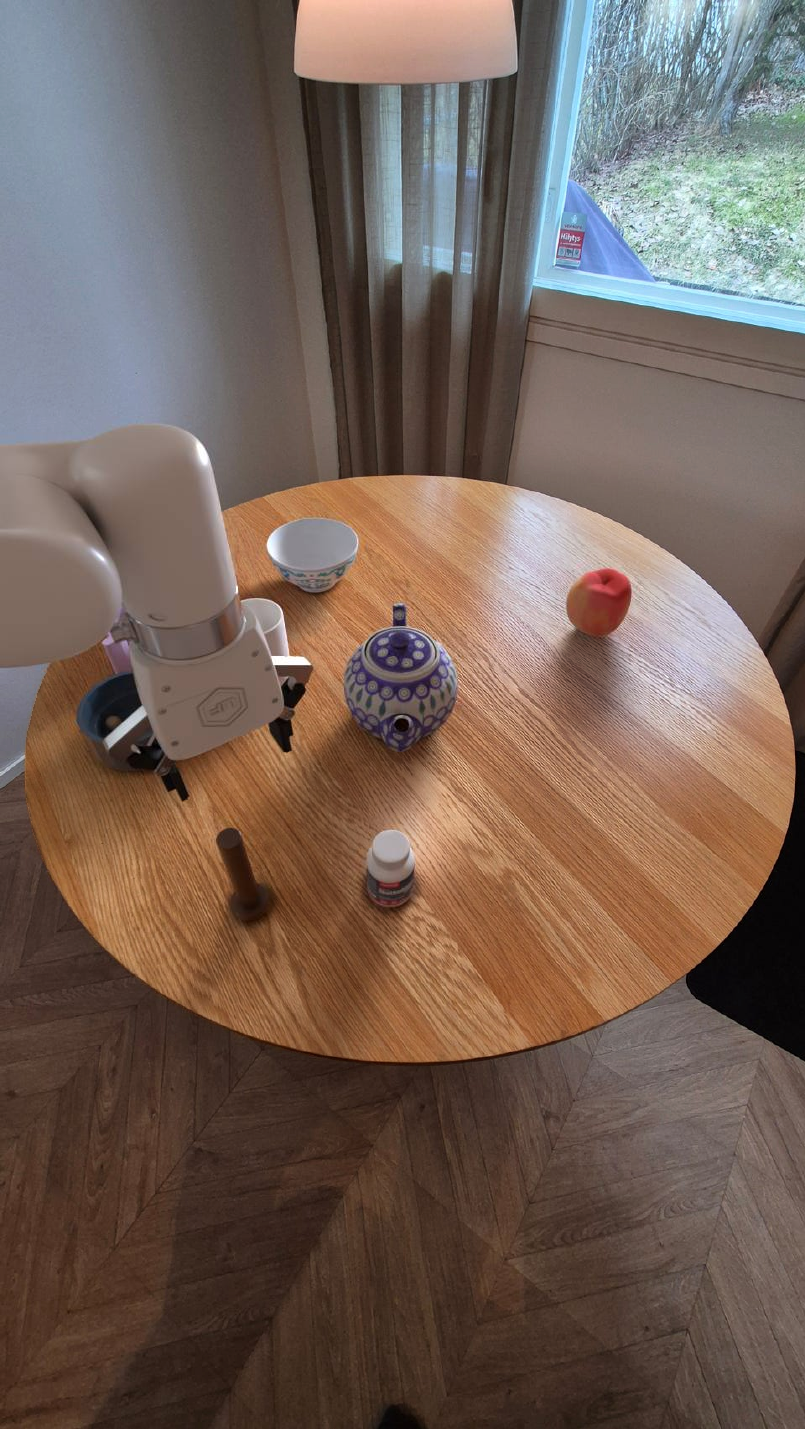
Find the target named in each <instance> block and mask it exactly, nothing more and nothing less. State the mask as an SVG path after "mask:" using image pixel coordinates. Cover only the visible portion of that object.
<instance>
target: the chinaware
mask: <svg viewBox="0 0 805 1429" xmlns="http://www.w3.org/2000/svg"><path fill="white" fill-rule="evenodd" d="M265 545H266V546H265V548H266V552H267V555H268V557H269V559H270V562H271V563H272V565H273V566H274V569H276V571H277V572H278V573H279V574H280V575H281V577H283V579H285V580H286V581H287V582H289V583H291V584H293V585H295V586H298V587H299V588H300V589H301V590H303V591H304V592H308V593H322V592H326V591H328V590H330V589H331V588H333V586H335V584H336V583H337V582H339V581H340V580H342V579H343V578H344V577H345V576H347V574H348V572H349V571H350V570H351V568H352V566H353V564H354V562H355V560H356V556H357V553H358V550H359V538H358V535H357V534H356V531H355V530H354V529H352V527H350V526H349V525H348V524H346V523H344V522H342V521H339V520H336V519H331V518H325V517H305V518H299V519H295V520H292V521H289V522H285V523H284V524H282V525H280V526H279V527H277V528H276V529H274V530H273V531H272V532H271V533H270V535H268V538H267V540H266V544H265Z"/></svg>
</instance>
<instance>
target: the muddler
mask: <svg viewBox="0 0 805 1429" xmlns="http://www.w3.org/2000/svg"><path fill="white" fill-rule="evenodd" d="M215 843H216V846H217V849H218V851H219V853H220V857H221V859H222V862H223V864H224V867H225V870H226V872H227V876H228V878H229V881H230V884H231V885H232V886H231V887H232V889H233V891H234V892H233V893H232V895H231V898H230V905H231V908H232V911H233V913H234V915H235V916H236V918H238V919H239V920H240V921H243V922H245V923H246V922H247V923H251V922H257V921H258V920H260V919H262V918H263V917H264V916H265V915H266V914H267V912H268V911H269V908H270V904H271V903H270V897H269V893H268V890H267V889H266V887H265V886H264V885H262V884H261V883H259V882H257V881H256V877H255V874H254V870H253V867H252V865H251V861H250V859H249V855H248V852H247V848H246V846H245V842H244V839H243V836H242V833H241V831H240V830H239V829H237V828H235V827H227V828H223V829H222V830H221V831H219V832H218V834H217V836H216V838H215Z"/></svg>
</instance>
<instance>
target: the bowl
mask: <svg viewBox="0 0 805 1429" xmlns="http://www.w3.org/2000/svg"><path fill="white" fill-rule="evenodd" d="M140 706H142V703H141V700H140V697H139V694H138V690H137V687H136V683H135V679H134V675H133V670H129V671H124V672H120V673H117V674H115V673H114V674H112V675H110V676H107V677H105V678H103V679H102V680H100V681H99V682H97V683H96V684H95V685H92V687H90V688H89V690H88V691H87V692H86V693H85V694H84V695H83V696H82V697H81V699H80V701H79V704H78V706H77V708H76V713H75V714H76V715H75V722H76V724H77V727H78V729H79V731H80V733H81V734H82V737H83V738H84V740H85V742H86V744H87V746H88V748H89V750H90V752H91V753H92V756H93V757H94V758H95V760H97V762H99V763H100V764H102V765H103V766H105V768H110V769H113V770H116V771H120V772H123V771H124V772H136V771H137V772H138V771H142V770H143V769H136V768H131V767H130V766H129V764H128V763H126V762H122V761H120V760H118V759H116V758H114V757H112V756H110V755H108V753H107V751H106V749H105V747H104V744H103V740H104V739H105V738H106V737H107V736H108V735H109V734H110V733H111V732H112V731H114V730H110V729H108V728H107V727H106V720H107V718H108V717H110V716H117V717H119V718H120V719H121V722H124V721H125V720H126V719H127V718H128V717H129V716H130V715H131V714H133V713H134V712H135V711H136V710H137V709H138V708H139V707H140ZM153 733H154V732H153V730H152V728H150V729H149V730H148V731H147V732H146V733H145V734H144V735H142V736H141V737H140V738H139V739H138V740H137V741H136V742H135V743H136V744H142V745H147V744H148V742H149V740H150V738H151V736H152V735H153Z"/></svg>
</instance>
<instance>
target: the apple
mask: <svg viewBox="0 0 805 1429" xmlns="http://www.w3.org/2000/svg"><path fill="white" fill-rule="evenodd" d="M632 593H633V592H632V584H631V581H630V579H629V578H628V577H627V576H626V575H625V574H623V573H622V572H620V571H618V570H616V569H614V568H611V567H609V568H608V567H605V568H600V569H596V570H592V571H588V572H585V573H584V574H583V575H581V576H580V577H579V578H578V579H577V580H575V582H574V583H573V584H571V587H570V588H569V591H568V592H567V595H566V602H565V609H566V614H567V617H568V620H569V622H570V623H571V625H572V626H573V627H574V628H576V629H577V630H578V631H580V632H582V633H583V634H584V635H585V634H586V635H588V636H590V637H595V638H604V637H607V636H609V635H611V634H612V633H613V632H615V631H616V630H617V629H618V628H619V627H620V625H621V624H622V623H623V621H624V620H625V618H626V616H627V614H628V611H629V609H630V606H631V603H632V602H631V601H632V596H633V595H632Z"/></svg>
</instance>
